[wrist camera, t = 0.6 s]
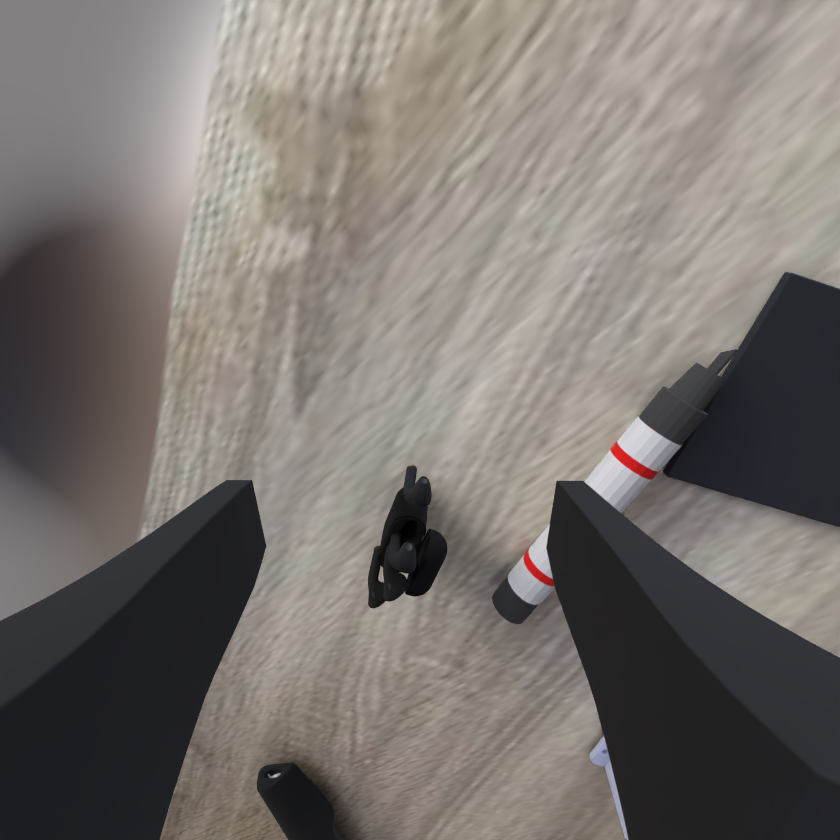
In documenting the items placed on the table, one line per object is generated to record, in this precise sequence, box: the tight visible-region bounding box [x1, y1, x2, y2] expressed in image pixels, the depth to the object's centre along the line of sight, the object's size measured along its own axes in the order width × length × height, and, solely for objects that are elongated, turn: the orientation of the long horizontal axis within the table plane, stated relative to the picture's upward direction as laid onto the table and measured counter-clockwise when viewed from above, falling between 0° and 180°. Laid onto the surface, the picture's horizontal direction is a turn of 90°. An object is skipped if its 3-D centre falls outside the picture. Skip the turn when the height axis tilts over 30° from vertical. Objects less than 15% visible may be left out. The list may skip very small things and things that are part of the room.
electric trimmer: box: [257, 763, 343, 840], centre depth 32 cm, size 4×16×3 cm, turn 14°
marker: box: [492, 349, 738, 624], centre depth 20 cm, size 15×2×2 cm, turn 152°
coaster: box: [664, 272, 840, 527], centre depth 19 cm, size 9×9×1 cm
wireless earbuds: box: [368, 465, 447, 608], centre depth 20 cm, size 7×2×5 cm, turn 160°
